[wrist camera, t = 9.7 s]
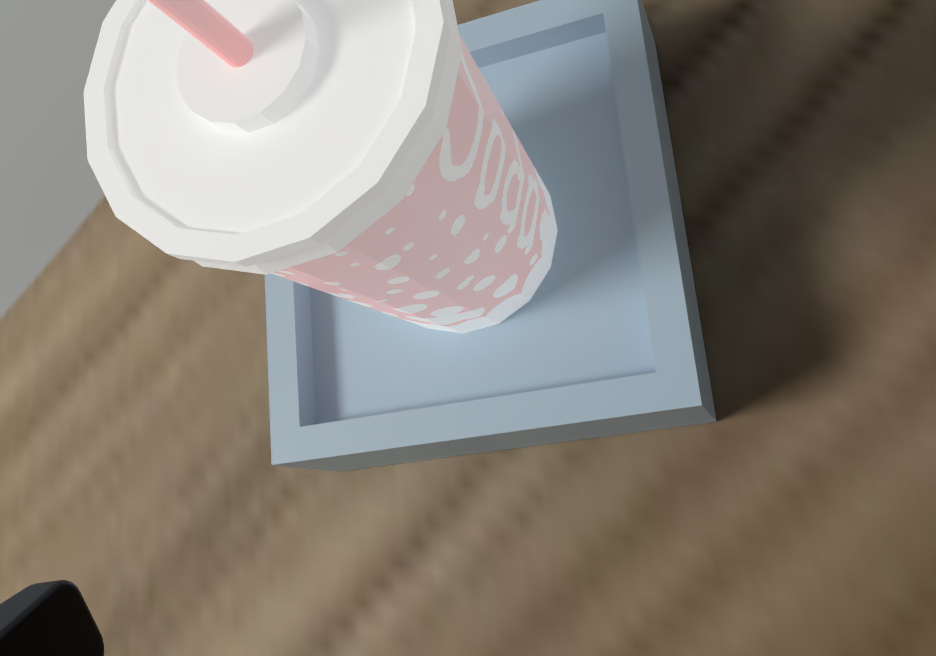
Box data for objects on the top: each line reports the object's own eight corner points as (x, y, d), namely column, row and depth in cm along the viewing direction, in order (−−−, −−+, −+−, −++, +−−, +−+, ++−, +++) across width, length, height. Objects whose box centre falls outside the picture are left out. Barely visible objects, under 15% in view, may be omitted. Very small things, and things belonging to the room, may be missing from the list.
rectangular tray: (716, 421, 21) (701, 405, 18) (339, 471, 24) (271, 464, 21) (655, 44, 23) (632, -28, 20) (320, 135, 26) (257, 85, 23)
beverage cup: (530, 403, 20) (22, 185, 7) (314, 317, 22) (-363, 36, 9) (629, 153, 20) (323, -506, 7) (405, 96, 22) (-123, -472, 10)
